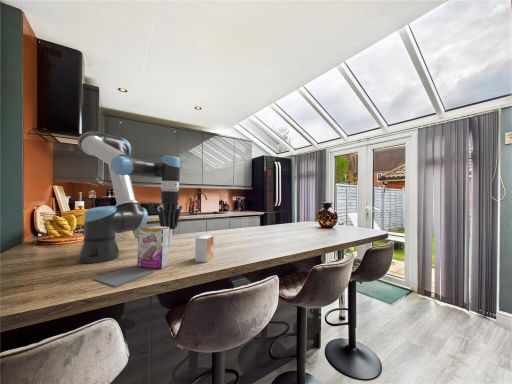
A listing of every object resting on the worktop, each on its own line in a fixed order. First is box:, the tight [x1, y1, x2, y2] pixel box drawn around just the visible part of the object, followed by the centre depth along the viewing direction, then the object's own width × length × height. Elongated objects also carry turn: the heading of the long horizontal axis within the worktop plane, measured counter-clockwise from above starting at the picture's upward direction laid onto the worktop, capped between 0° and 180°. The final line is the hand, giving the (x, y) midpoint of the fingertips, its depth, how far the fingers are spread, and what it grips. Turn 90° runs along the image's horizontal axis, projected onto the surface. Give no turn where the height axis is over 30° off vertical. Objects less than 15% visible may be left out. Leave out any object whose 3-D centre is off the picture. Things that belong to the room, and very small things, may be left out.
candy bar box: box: [136, 225, 170, 270], centre depth 89 cm, size 11×5×16 cm, turn 81°
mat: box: [92, 266, 154, 288], centre depth 78 cm, size 13×14×1 cm
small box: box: [194, 234, 215, 263], centre depth 100 cm, size 8×6×10 cm
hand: (168, 243), depth 96 cm, fingers closed
